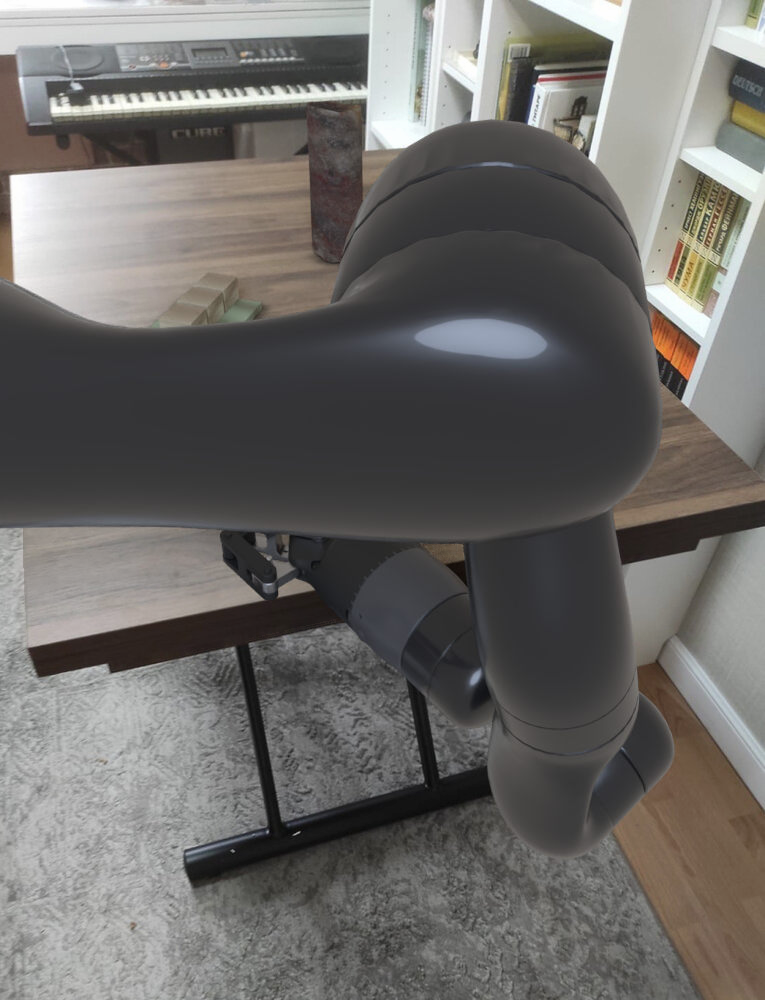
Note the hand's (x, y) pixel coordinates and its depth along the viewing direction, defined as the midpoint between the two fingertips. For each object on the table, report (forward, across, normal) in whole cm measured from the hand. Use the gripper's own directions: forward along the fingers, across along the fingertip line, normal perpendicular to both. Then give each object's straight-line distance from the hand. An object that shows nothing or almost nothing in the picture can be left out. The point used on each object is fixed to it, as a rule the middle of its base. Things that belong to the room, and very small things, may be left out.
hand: (268, 478), depth 67 cm
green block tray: (+35, -10, +8) cm, 37 cm away
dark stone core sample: (+46, -41, +8) cm, 63 cm away
